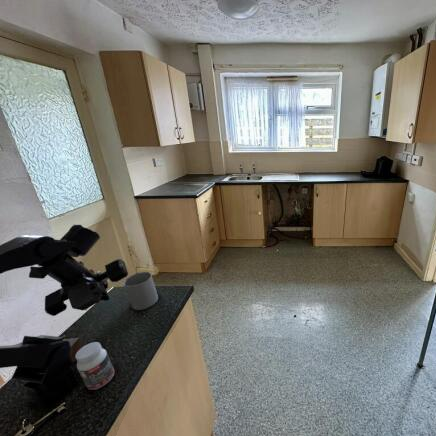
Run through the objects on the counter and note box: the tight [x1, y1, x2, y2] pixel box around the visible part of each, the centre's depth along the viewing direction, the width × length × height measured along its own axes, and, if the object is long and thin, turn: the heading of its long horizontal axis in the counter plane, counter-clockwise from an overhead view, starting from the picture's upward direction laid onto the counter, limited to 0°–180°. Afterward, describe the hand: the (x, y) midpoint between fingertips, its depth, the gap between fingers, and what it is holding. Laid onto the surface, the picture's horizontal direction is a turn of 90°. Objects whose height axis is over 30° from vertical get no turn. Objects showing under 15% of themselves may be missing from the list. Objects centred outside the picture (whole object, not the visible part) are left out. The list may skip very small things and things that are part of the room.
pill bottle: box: [75, 341, 115, 391], centre depth 58 cm, size 6×6×10 cm
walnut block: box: [63, 337, 84, 364], centre depth 65 cm, size 4×4×4 cm
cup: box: [123, 271, 159, 311], centre depth 84 cm, size 8×8×10 cm
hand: (108, 298), depth 71 cm, fingers closed
